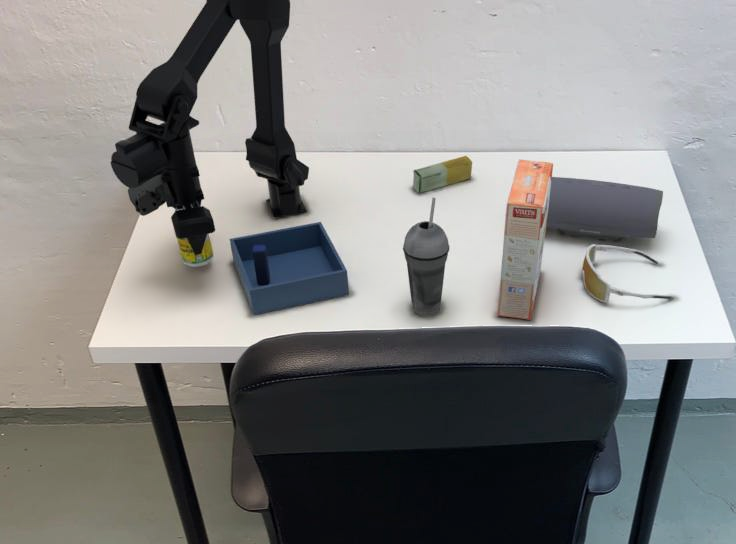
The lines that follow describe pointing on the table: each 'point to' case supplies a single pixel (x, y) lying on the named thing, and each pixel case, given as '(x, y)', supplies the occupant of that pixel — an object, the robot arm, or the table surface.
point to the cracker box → (524, 238)
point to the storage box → (291, 268)
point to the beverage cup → (426, 264)
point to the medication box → (442, 174)
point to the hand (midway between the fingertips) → (195, 245)
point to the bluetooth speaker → (603, 209)
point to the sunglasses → (598, 285)
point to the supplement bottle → (189, 255)
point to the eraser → (261, 264)
